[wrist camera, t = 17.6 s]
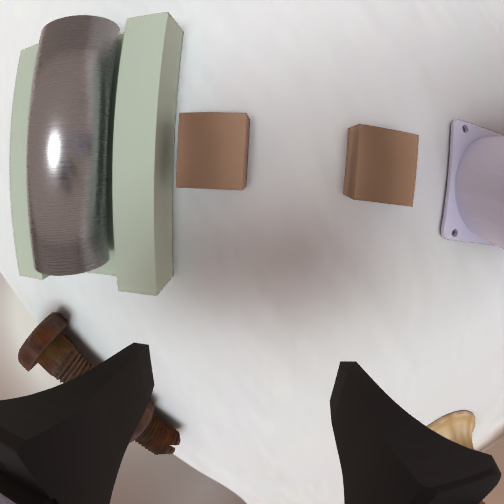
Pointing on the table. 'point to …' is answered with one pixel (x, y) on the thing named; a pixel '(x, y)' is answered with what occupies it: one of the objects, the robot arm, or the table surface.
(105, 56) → the axle
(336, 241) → the table surface
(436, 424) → the hand bell
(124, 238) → the pale green channelled slab
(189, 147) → the bearing block
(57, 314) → the bolt
